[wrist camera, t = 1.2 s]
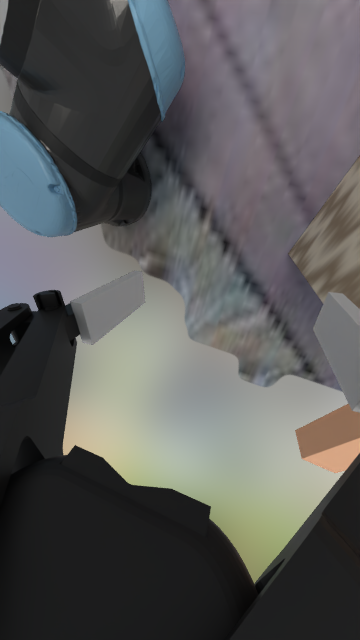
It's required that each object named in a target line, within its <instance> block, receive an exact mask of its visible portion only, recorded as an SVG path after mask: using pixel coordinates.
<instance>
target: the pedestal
mask: <svg viewBox="0 0 360 640" xmlns="http://www.w3.org/2000/svg"><path fill="white" fill-rule="evenodd" d="M288 254H289V256H290V257H291V258H292V260H293V261H294V263H295V264H296V266H297V267H298V268H299V270H300V271H301V273H302V274H303V276H304V277H305V278H306V280H307V281H308V283H309V284H310V286H311V287H312V288H313V290H314V291H315V293H316V294H317V296H318V297H319V298H320V300H321V301H322V303H323V304H324V301H325V299H326V297H327V294H328V292H333V293H343V294H344V295H345V296H346V297H347V298H348V299H349V300H350V301H351V302H352V303H353V304H355V305H356V306H357V307H358V308H359V309H360V156H359V157H358V159H357V160H356V162H355V163H354V164H353V166H352V167H351V168H350V170H349V171H348V172H347V174H346V175H345V177H344V178H343V179H342V181H341V182H340V183H339V185H338V186H337V188H336V189H335V190H334V192H333V193H332V194H331V196H330V197H329V199H328V200H327V201H326V203H325V204H324V205H323V207H322V208H321V210H320V211H319V212H318V214H317V215H316V216H315V218H314V219H313V220H312V222H311V223H310V225H309V226H308V227H307V229H306V230H305V231H304V233H303V234H302V236H301V237H300V238H299V240H298V241H297V242H296V244H295V245H294V247H293V248H292V249H291V251H290V252H289V253H288Z"/></svg>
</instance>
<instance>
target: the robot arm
mask: <svg viewBox="0 0 360 640" xmlns="http://www.w3.org/2000/svg"><path fill="white" fill-rule="evenodd" d="M0 64H1V65H2V66H3V67H4V68H6V69H7V70H8V71H9V72H10V73H12V74H13V75H14V76H15V77H16V78H18V80H17V85H16V90H15V94H14V98H13V102H12V107H11V111H10V114H7V113H5V112H2V111H0V206H1V207H2V208H3V209H4V210H5V211H6V212H7V213H8V214H9V215H10V216H11V217H12V218H13V219H14V220H15V221H16V222H17V223H19V224H20V225H21V226H23V227H24V228H26V229H27V230H29V231H31V232H33V233H35V234H37V235H41V236H47V237H56V236H63V235H64V236H66V235H70V234H72V233H73V232H76V231H79V230H82V229H85V228H88V227H92V226H95V225H98V224H101V223H106V224H110V225H113V226H126V225H129V224H132V223H134V222H136V221H137V220H139V219H140V218H141V217H142V216H143V215H144V213H145V212H146V210H147V208H148V205H149V202H150V197H151V180H150V175H149V171H148V168H147V165H146V162H145V160H144V158H143V157H142V155H141V153H140V152H141V150H142V149H143V147H144V146H145V144H146V143H147V141H148V140H149V138H150V137H151V135H152V134H153V132H154V131H155V129H156V128H157V126H158V125H159V123H160V122H161V121H162V122H163V120H164V118H165V113H166V111H167V109H168V108H169V106H170V104H171V103H172V101H173V99H174V98H175V96H176V94H177V93H178V91H179V89H180V87H181V85H182V83H183V79H184V74H185V58H184V52H183V48H182V43H181V40H180V36H179V33H178V30H177V27H176V24H175V21H174V18H173V15H172V12H171V9H170V6H169V3H168V1H167V0H0ZM33 297H34V300H35V302H36V305H37V307H38V311H37V312H36V311H31V309H30V307H29V305H28V304H26V303H20V304H18V303H16V304H11V305H9V306H7V307H5V308H3V309H1V310H0V640H360V453H359V454H358V456H357V457H356V458H355V459H354V461H353V462H352V463H351V464H350V466H349V467H348V468H347V470H346V471H345V472H344V473H343V475H342V476H341V477H340V478H339V480H338V481H337V482H336V483H335V485H334V486H333V487H332V488H331V490H330V491H329V492H328V494H327V495H326V496H325V497H324V498H323V500H322V501H321V502H320V504H319V505H318V506H317V507H316V509H315V510H314V511H313V512H312V514H311V515H310V516H309V517H308V519H307V520H306V521H305V522H304V524H303V525H302V526H301V527H300V529H299V530H298V531H297V533H296V534H295V535H294V536H293V538H292V539H291V540H290V541H289V543H288V544H287V545H286V546H285V548H284V549H283V550H282V551H281V552H280V554H279V555H278V556H277V557H276V558H275V559H274V560H273V562H272V563H271V564H270V565H269V566H268V568H267V569H266V570H265V571H264V572H263V574H262V575H261V576H260V577H259V579H258V580H257V581H256V582H255V584H254V583H253V580H252V578H251V576H250V574H249V572H248V570H247V568H246V566H245V564H244V562H243V560H242V559H241V557H240V555H239V554H238V552H237V550H236V549H235V547H234V546H233V544H232V543H231V542H230V540H229V539H228V537H227V536H226V535H225V534H224V533H223V532H222V531H221V529H220V528H219V527H218V526H217V525H216V524H215V523H214V522H213V521H211V520H210V519H209V515H210V509H211V506H208V505H206V504H204V503H202V502H200V501H197V500H195V499H193V498H191V497H188V496H186V495H184V494H182V493H179V492H177V491H175V490H173V489H168V488H158V487H147V486H137V485H131V484H129V483H127V482H126V481H125V480H124V479H123V478H122V477H121V476H120V475H119V474H118V473H117V472H116V471H115V470H114V469H113V468H112V467H111V466H110V465H109V464H108V463H107V462H106V461H105V460H104V458H102V457H100V456H98V455H95V454H93V453H91V452H89V451H86V450H84V449H82V448H80V447H78V446H76V445H75V446H74V447H73V448H72V450H71V451H70V453H69V454H68V455H63V438H64V431H65V424H66V417H67V410H68V403H69V396H70V388H71V381H72V375H73V368H74V360H75V353H76V346H77V341H76V338H75V337H77V336H78V335H80V336H81V339H82V342H83V343H87V344H91V345H93V344H94V343H95V342H97V341H98V340H99V339H101V338H102V337H103V336H104V335H106V333H108V332H109V331H110V330H112V329H113V328H114V327H115V326H116V325H118V324H119V323H120V322H122V321H123V320H124V319H125V318H126V317H128V316H129V315H130V314H131V313H132V312H134V311H135V310H136V309H137V308H139V307H140V306H141V305H142V304H143V303H145V295H144V286H143V275H142V272H141V271H133V272H131V273H128V274H126V275H124V276H122V277H120V278H118V279H116V280H114V281H112V282H110V283H108V284H106V285H103V286H101V287H99V288H97V289H95V290H93V291H91V292H89V293H87V294H85V295H83V296H81V297H79V298H77V299H74V300H73V301H70V304H68V305H66V306H65V304H64V301H63V298H62V295H61V292H60V291H58V290H49V291H43V292H39V293H37V294H35V295H34V296H33ZM313 330H314V333H315V335H316V337H317V339H318V341H319V343H320V345H321V347H322V349H323V351H324V353H325V355H326V358H327V360H328V362H329V364H330V366H331V368H332V370H333V372H334V374H335V376H336V378H337V380H338V382H339V385H340V387H341V389H342V391H343V393H344V395H345V397H346V399H347V401H348V403H349V405H350V407H351V409H352V411H355V412H359V413H360V309H359V308H358V307H357V306H356V305H355V304H353V303H352V302H351V301H350V300H349V299H348V298H347V297H346V296H345V295H344V294H343V293H333V292H328V294H327V297H326V299H325V301H324V304H323V306H322V308H321V311H320V313H319V316H318V318H317V320H316V323H315V325H314V328H313ZM10 334H12V335H13V338H14V340H15V341H16V342H15V343H14V344H12V343H11V341H10Z"/></svg>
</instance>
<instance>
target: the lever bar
mask: <svg viewBox="0 0 360 640" xmlns="http://www.w3.org/2000/svg"><path fill="white" fill-rule="evenodd" d="M295 431H296V436H297V440H298V444H299V449H300V452H301V457H302V459H304V460H306V461H308V462H311V463H313V464H315V465H317V466H320V467H322V468H324V469H327V470H329V471H331V472H334V473H338V472H342V471H346V470H347V468H348V467H349V466H350V464H351V463H352V462H353V461H354V459H355V458H356V457H357V456H358V454H359V453H360V413H359V412H355V411H352V409H351V407H350V405H349V404H347V405H345V406H343V407H341V408H339V409H337V410H335V411H333V412H331V413H329V414H327V415H325V416H323V417H321V418H319V419H317V420H315V421H313V422H311V423H309V424H307V425H305V426H303V427H301V428H299V429H297V430H295Z"/></svg>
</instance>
